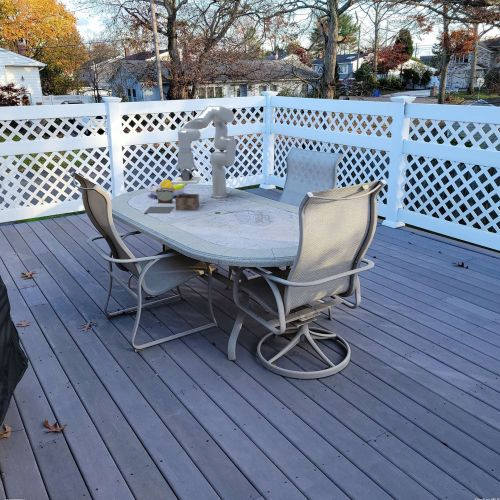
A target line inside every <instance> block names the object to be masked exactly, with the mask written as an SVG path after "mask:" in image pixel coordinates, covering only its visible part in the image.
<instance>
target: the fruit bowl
mask: <svg viewBox="0 0 500 500" xmlns="http://www.w3.org/2000/svg"><path fill="white" fill-rule="evenodd" d="M186 185H187V184H173V182H172V181H171V180H170V179H168V178H167V179H163V180H162V181H161V183H160V184H156V185H152V186H149V187H148V188H147V189H148V191H149V193H150V194H151V195H152V196H156V197H157V192H156V189H159V188H172V189H173V191H174V193H173V198H174V197H175V198H176V197H177V196H178V195H179V194H184V191H185V190H186Z"/></svg>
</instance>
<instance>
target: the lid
mask: <svg viewBox="0 0 500 500" xmlns="http://www.w3.org/2000/svg"><path fill="white" fill-rule="evenodd" d="M189 173H190V171H189V170H183V173H182V178H181V176H177V177H176V178H175V179H174V180H173V182H172V183H173V184H186V185H197V184H198V183H199V181H200V180H201V176H192V178H191V180H190V179H189ZM182 179H183V180H182Z"/></svg>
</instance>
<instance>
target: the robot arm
mask: <svg viewBox="0 0 500 500" xmlns="http://www.w3.org/2000/svg"><path fill="white" fill-rule="evenodd" d="M234 118H235V114H234V112H233V110H231V108H227V107H225V106H221V105H208V106H207V105H206V107H205V108H204V109H202V111H201V112H200V114H199V115H198V116H197V117H195V118H193V119H191V120H188V121H187V122H185V123H184V124H183V125H182V126H181V128H180V129H179V131H178V132H177V139H178V140H177V141H178V153H177V164H176V166H175V170H176V171H177V172H179V173H180V177H181V178H182V173H183V172H184V170H185V169H186V170H188V171H190V173H189V179H190V180H191V178H192V177H193V173H194V172H195V171H196V170H197V169H198V167H197V165H196V164H195V159H194V152H193V151H194V148H192V146H191V145H192V144H191V142H197V141H199V140H200V139H201V131H200V130H203V129H205V128H207V127H208V126H209V125H210V124H211V122H213V125H214V126H215V133H214V140H213V147H214V149H216V150H219V151H213V152H212V153H211V154H210V156H209V161H210V166H211V178H212V193H211V194H210V197H211V198H213V199H223V198H224V199H225V198H227V197H229V195H232V194H233V191H231V190H227V185H226V184H227V183H226V181H227V179H226V177H227V176H226V175H227V173H226V169H225V167H232V166H233V165H234V163H235V160H236V152H237V140H236V139H235V137H233V136H228V132H229V130H228V126H227V124H228V123H229V124H230V123H232V122H233V121H234ZM226 123H227V124H226ZM225 151H226V152H225ZM182 180H183V179H182Z"/></svg>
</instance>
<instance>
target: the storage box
mask: <svg viewBox="0 0 500 500" xmlns="http://www.w3.org/2000/svg"><path fill="white" fill-rule="evenodd" d="M199 194H200V193H182V194H179V195H177V196H175V198H174V199H175V211H197V209H198V208H199V206H200V195H199Z"/></svg>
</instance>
